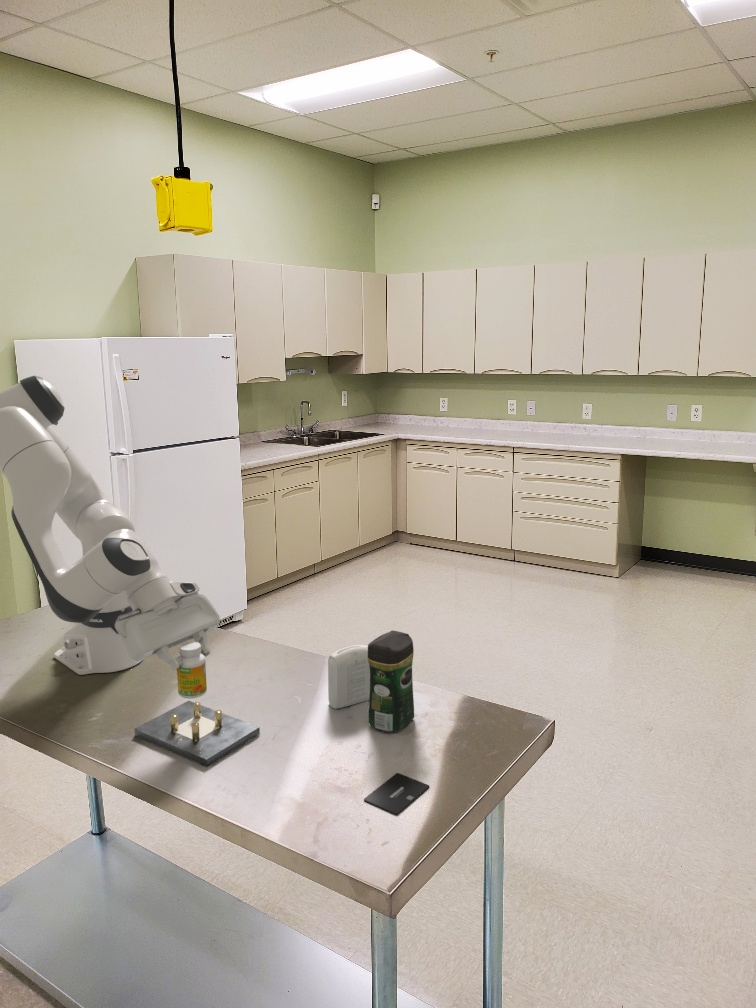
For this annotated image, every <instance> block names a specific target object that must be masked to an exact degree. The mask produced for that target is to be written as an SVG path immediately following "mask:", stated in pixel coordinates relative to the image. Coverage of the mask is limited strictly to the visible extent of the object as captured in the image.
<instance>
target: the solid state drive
mask: <svg viewBox="0 0 756 1008" xmlns="http://www.w3.org/2000/svg"><path fill="white" fill-rule="evenodd" d="M429 789H430V785H429V784H428V783H425V782H422V781H420V780H417V779H415V778H413V777H409V776H407V775H405V774H402V773H400V772H396V773H395V774H394V775H392V776H391V777H390V778H389V779H387V780H386V781H384V783H382V784H381V785H380V786H379V787H377V788H376V789H374V790H373V791H371V793H369V794H368V795H367V796H365V797H364V798H363V801H364V802H365V803H367V804H369V805H372V806H374V807H376V808H378V809H382V810H383V811H386V812H388V813H390V814H392V815H394V816H398V815H400V814H401V813H403V811H404V810H406V808H408V807H410V805H412V803H414V802H415V801H416V800H418V798H419V797H421V796H422V795H423V794H425V792H426V791H427V790H429Z"/></svg>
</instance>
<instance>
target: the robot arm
mask: <svg viewBox="0 0 756 1008" xmlns="http://www.w3.org/2000/svg"><path fill="white" fill-rule="evenodd" d="M64 412H65V406H64V402H63V398H62V396H61V394H60V392H59V390H58V389H57V388H56V387H55V386H54V385H53V384H52V383H51V382H49V381H47V380H46V379H43V377H41V376H37V375H32V376H29V377H25V378H23V379H21V380H20V381H19V382H18V383H16V384H14V385H12V386H10V387H8V388H7V387H6V388H5V389H4V390H1V391H0V471H1V473H2V474H3V475H4V476H5V478H6V480H7V482H8V485H9V488H10V491H11V495H12V503H13V504H12V507H11V511H10V512H11V518H12V521H13V524H14V526H15V528H16V531H17V533H18V535H19V537H20V539H21V541H22V544H23V546H24V548H25V551H26V552H27V554H28V556H29V558H30V560H31V562H32V564H33V566H34V569H35V571H36V573H37V576H38V577H39V579H40V581H41V583H42V586H43V589H44V593H45V596H46V599H47V603H48V605H49V607H50V609H51V611H52V612H53V614H54V615H55V616H56V617H57V618H59V619H60V620H62V621H65V622H68V623H74V624H73V625H72V626H71V627H70V628H69V629H67V630H66V631H65V633H64V635H63V646H62V647H61V648H59V649H58V650H56V651H55V652H54V655H53V656H54V658H55V659H56V660H57V661H59V662H60V663H61V664H63V665H64V666H65V667H67V668H68V669H70V670H71V671H73V672H74V673H76V674H77V675H80V676H81V675H82V676H84V675H89V674H98V673H99V674H102V673H104V674H105V673H113V672H114V673H115V672H119V671H124V670H126V669H129V668H132V667H134V666H136V665H137V664H139V663H141V662H142V661H143V660H144V659H147V658H150V657H151V656H155V655H156V656H157V657H158V658H159V659H160V660H162V661H163V662H165V663H167V665H169V667H171V669H172V671H177V669H179V668H181V666H183V662H182V661H181V659H180V657H179V656H177V657H176V656H174V655H173V654H171V653H170V648H174V647H176V646H178V645H179V646H180V645H182V644H183V643H187V642H189V641H191V640H194V642H197V643H199V644H200V645H201V654H203V655H204V657H205V658H206V657H207V656H209V655H210V654H211V650H210V649H211V648H209V647H208V645H207V644H208V640H207V639H208V638H207V634H208V633H210V632H213V631H215V629H216V628H217V626H219V624H220V622H221V616H220V614H219V612H218V611H217V610H216V608H215V606H214V604H213V603H211V601H210V599H208V597H207V596H206V595H204V594H203V593H198V592H199V591H200V590H201V589H200V587H199V585H198V583H196V582H193V581H187V582H186V581H174V580H170V578H169V577H168V576H167V575H166V574H165V573H164V572H163V571H162V569H161V568H160V566H159V562H158V560H157V558H156V556H155V555H154V553H153V552H152V550H150V547H148V545H147V544H146V543H145V542H144V540H143V539H142V538H141V537H140V536H139V535H138V534H137V533H136V531H135V527H134V524H133V522H132V520H131V518H130V516H129V515H128V514H127V513H126V512H125V511H123V510H122V509H120V508H119V507H118V506H116V505H115V504H114V503H112V501H110V500H109V498H108V497H107V496H106V494H105V493H104V492H103V491H102V490H103V489H101V487H100V486H99V485H98V483H97V481H96V480H95V478H94V476H93V475H92V473H91V472H90V470H89V469H88V468H87V467H86V466H85V464H84V463H83V462H82V460H81V459H80V458H79V456H78V455H77V454H76V453H75V452H74V450H73V449H72V447H71V446H70V445H69V444H68V443H67V441H66V440H65V439H64V438H63V437H62V436H61V435H60V433H59V432H58V431H56V429H54V427H52V426H51V425H54V426H57V425H58V424H59V421H60V420H61V419H62V418H63V416H64ZM56 514H57V515H58V517H59V518H60V519H61V520H62V522H63V524H65V526H66V527H67V528H68V529H69V530H70V532H71V533H72V534H73V535H74V537H76V538H77V539H78V540H79V541H80V543H81V546H82V557H81V558H79V559H78V560H77V561H76V562H75V563H73V564H72V565H71V566H68V564H67V563H66V560H65V559H64V557H63V554H62V553H61V551H60V548H59V547H58V544H57V543H56V541H55V538H54V536H53V531H52V530H53V529H52V525H53V522H54V521H53V520H54V518H55V515H56Z"/></svg>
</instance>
